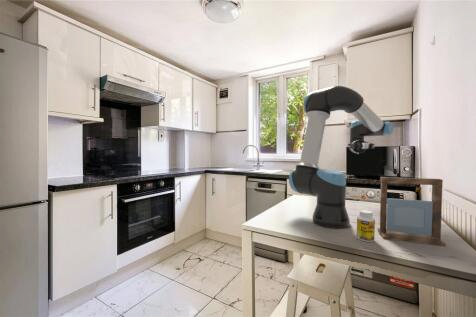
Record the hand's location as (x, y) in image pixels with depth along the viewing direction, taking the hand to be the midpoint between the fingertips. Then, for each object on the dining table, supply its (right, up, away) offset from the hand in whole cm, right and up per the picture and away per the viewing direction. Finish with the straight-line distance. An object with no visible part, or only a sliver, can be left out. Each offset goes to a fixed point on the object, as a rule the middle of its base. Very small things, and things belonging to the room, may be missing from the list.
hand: (366, 145), depth 101 cm
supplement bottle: (-15, -36, -24) cm, 45 cm away
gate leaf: (+2, -33, -23) cm, 40 cm away
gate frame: (+2, -35, -23) cm, 42 cm away
